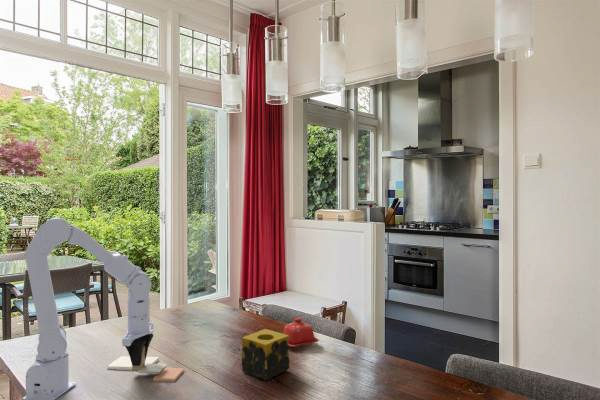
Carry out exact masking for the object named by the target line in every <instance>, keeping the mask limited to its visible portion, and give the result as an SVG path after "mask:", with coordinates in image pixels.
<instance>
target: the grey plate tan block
mask: <svg viewBox="0 0 600 400" xmlns="http://www.w3.org/2000/svg"><path fill="white" fill-rule="evenodd" d="M165 368H168V364H166V363H155V364H146V365H145V346H144V347H143V352H142V360H141V364H140V366H133V365H132V370H131V371H134V372H138V373H139V374H155V375H157V374H160V373H161V372H162V371H163V370H164V369H165Z"/></svg>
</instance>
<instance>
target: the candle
mask: <svg viewBox="0 0 600 400" xmlns="http://www.w3.org/2000/svg"><path fill="white" fill-rule="evenodd" d="M288 341H289V336H288V335H285V334H283V332H282V333H281V332H278V331H275V330H270V329H269V328H268V329H267V328H263V329H262V330H259V331H256V332H254V333H250V334H248V335H244V336H243V337H241V346H242V347H241V348H242V349H241V354H242V355H241V367H242V368H241V370H242V372H243V373H246V374H249V375H251V376H254V377H257V378H259V379H262V380H264V381H266V380H269V379H271V378H273V377H276V376H278V375H279V374H282V373H283V372H286V371H288V370H289V369H290V365H289V364H290V353H289V349H290V346H289V345H288Z"/></svg>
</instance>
